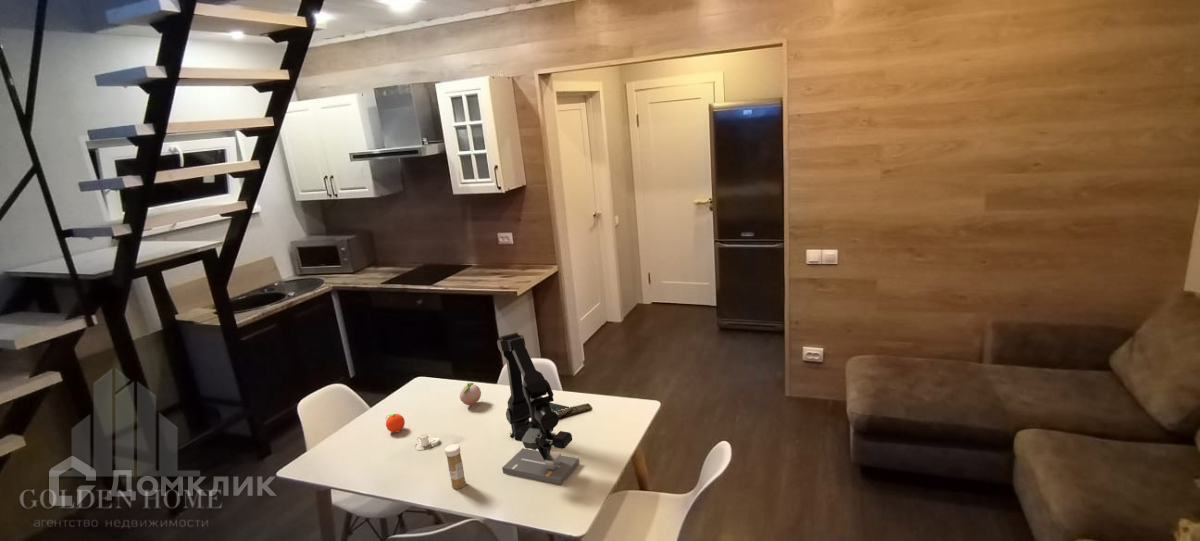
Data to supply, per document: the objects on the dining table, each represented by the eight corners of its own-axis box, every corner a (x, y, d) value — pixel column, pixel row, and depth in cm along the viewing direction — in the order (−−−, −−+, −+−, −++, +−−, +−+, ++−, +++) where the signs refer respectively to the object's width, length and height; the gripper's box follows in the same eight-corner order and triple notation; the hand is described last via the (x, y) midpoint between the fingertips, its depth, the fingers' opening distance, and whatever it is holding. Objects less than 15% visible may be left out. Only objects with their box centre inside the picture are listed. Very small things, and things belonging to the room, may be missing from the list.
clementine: (381, 434, 223) (378, 417, 221) (393, 425, 229) (390, 409, 228) (398, 436, 220) (394, 419, 218) (410, 427, 226) (406, 411, 225)
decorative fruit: (480, 409, 235) (476, 387, 232) (460, 411, 235) (456, 389, 232) (484, 399, 244) (481, 377, 241) (465, 401, 244) (461, 379, 242)
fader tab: (545, 468, 184) (544, 460, 184) (553, 459, 189) (552, 451, 188) (553, 469, 183) (552, 461, 182) (561, 461, 187) (560, 453, 186)
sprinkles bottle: (449, 486, 184) (441, 448, 181) (460, 479, 188) (453, 442, 184) (457, 491, 181) (450, 453, 178) (469, 483, 185) (462, 446, 181)
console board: (503, 472, 188) (502, 467, 188) (523, 453, 199) (522, 447, 198) (561, 485, 178) (560, 479, 178) (579, 463, 189) (578, 458, 188)
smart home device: (558, 416, 219) (519, 406, 231) (559, 420, 220) (520, 410, 231) (571, 406, 226) (533, 397, 237) (572, 410, 226) (533, 401, 238)
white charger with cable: (443, 441, 213) (441, 431, 212) (428, 453, 206) (426, 443, 205) (425, 438, 217) (423, 428, 216) (410, 450, 210) (408, 439, 209)
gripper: (500, 424, 180) (508, 468, 184) (551, 433, 172) (558, 479, 175) (520, 408, 190) (527, 450, 193) (570, 415, 181) (575, 459, 185)
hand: (546, 460), depth 187 cm, fingers closed
